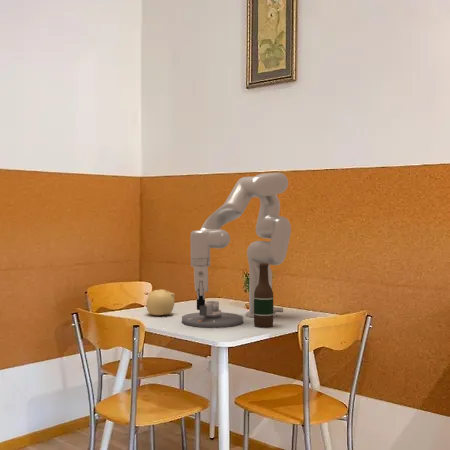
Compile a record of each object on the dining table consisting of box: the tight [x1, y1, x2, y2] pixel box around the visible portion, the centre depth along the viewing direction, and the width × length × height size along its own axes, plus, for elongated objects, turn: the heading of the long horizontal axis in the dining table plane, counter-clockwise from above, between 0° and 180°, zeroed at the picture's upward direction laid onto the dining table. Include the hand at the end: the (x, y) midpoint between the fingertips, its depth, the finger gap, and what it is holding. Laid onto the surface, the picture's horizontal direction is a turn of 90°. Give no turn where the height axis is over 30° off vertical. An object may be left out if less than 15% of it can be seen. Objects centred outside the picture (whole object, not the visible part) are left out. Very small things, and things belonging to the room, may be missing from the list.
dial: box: [199, 300, 222, 318], centre depth 240 cm, size 15×7×6 cm, turn 162°
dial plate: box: [181, 311, 244, 329], centre depth 244 cm, size 24×24×2 cm
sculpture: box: [145, 288, 175, 316], centre depth 260 cm, size 12×12×11 cm
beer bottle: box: [253, 263, 274, 328], centre depth 236 cm, size 8×8×24 cm
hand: (200, 309), depth 239 cm, fingers closed
